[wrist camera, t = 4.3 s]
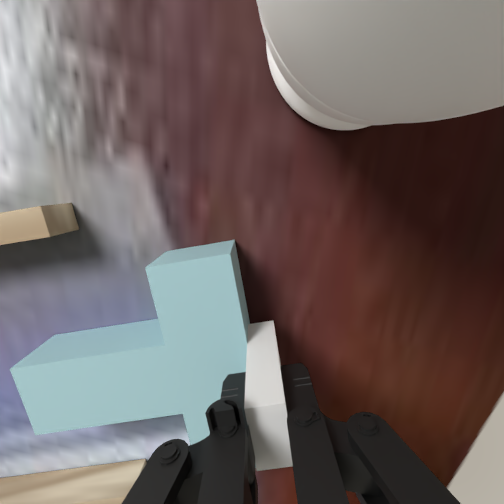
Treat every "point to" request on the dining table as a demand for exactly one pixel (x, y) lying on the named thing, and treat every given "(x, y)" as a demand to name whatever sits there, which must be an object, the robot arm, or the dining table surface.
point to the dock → (77, 479)
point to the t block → (147, 352)
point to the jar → (385, 59)
